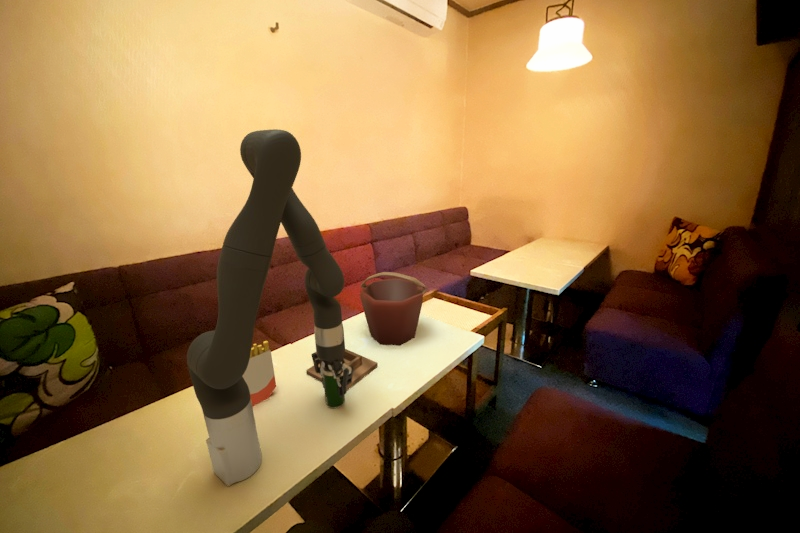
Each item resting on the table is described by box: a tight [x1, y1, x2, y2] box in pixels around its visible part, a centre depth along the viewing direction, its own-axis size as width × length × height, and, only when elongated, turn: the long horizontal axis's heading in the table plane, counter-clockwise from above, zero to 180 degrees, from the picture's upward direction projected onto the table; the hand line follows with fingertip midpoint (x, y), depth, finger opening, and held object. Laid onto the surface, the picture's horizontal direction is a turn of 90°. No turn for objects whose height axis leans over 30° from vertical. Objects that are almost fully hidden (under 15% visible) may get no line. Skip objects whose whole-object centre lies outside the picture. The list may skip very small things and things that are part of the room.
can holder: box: [305, 348, 378, 392], centre depth 113 cm, size 16×16×4 cm
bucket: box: [359, 271, 428, 347], centre depth 130 cm, size 24×22×25 cm
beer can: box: [323, 367, 346, 410], centre depth 97 cm, size 5×5×12 cm
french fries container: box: [243, 340, 277, 407], centre depth 98 cm, size 5×11×18 cm, turn 135°
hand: (334, 390), depth 98 cm, fingers closed on beer can, 5 cm apart
